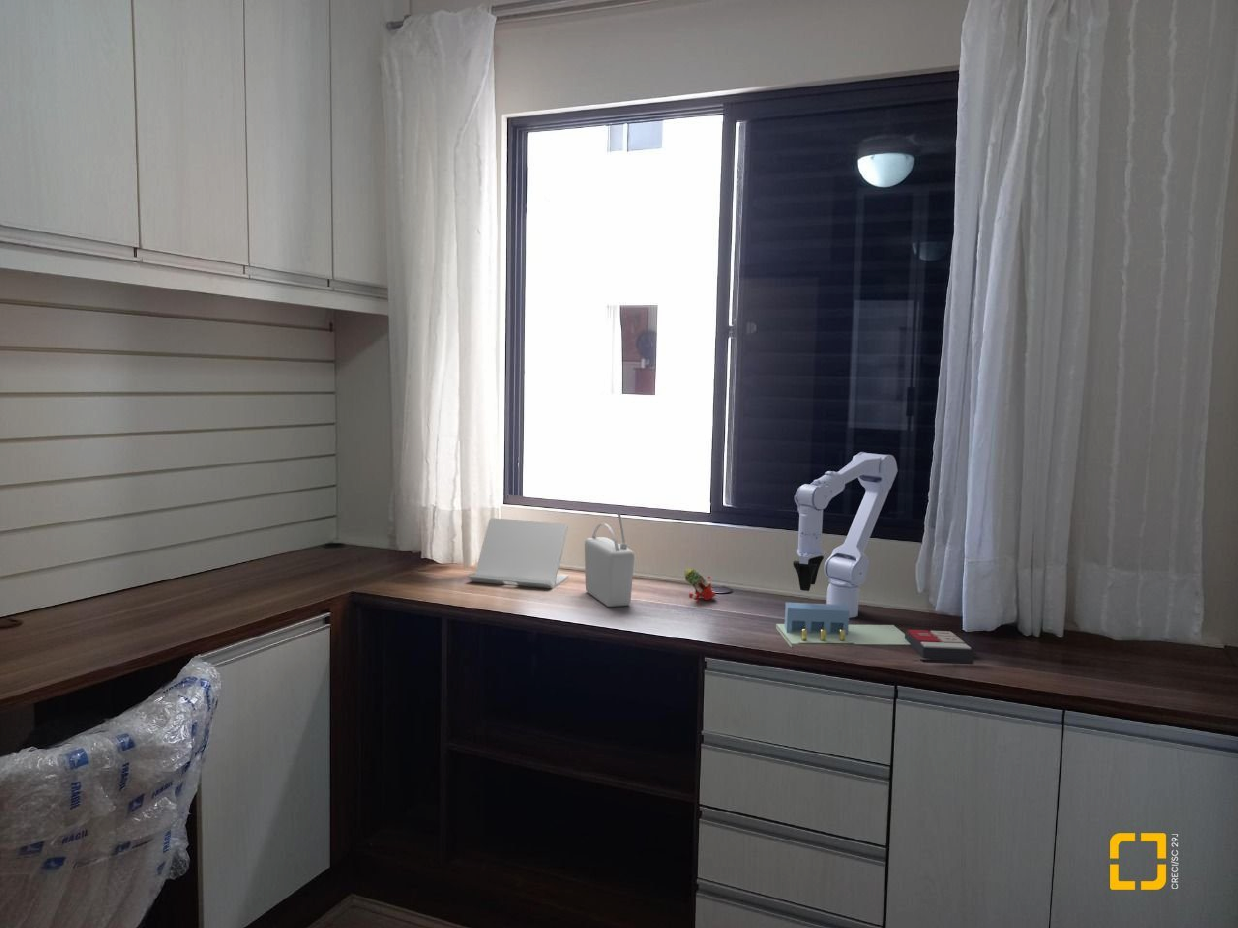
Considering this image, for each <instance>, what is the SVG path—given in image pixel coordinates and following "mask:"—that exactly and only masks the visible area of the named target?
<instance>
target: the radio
mask: <svg viewBox="0 0 1238 928" xmlns="http://www.w3.org/2000/svg"><path fill="white" fill-rule="evenodd" d="M616 514H617V517H618V518H617V519H618V523H619V529H620V535H621V540H622V541H621V542H620V543H618V539H617V536H616V533H615V532H614V530H613V528H612V526H610V525H609V524H608V523H603V522H602V523H599V524H597V525H596V527H595V529H593V533H592V537H588V538H586V539H585V541H584V564H585V565H584V567H585V568H584V570H585V571H584V572H585V574H584V575H585V590H586V592H587V593H588V594H589V595H591V596H592V597H593V598H595V599H596V600H598V601H599V602H600V603H602V604H603V605H605V606H606V607H608V608H615V607H616V608H617V607H618V608H619V607H628V606H630V604H631V602H632V601H631V599H632V591H633V590H632V589H633V575H634V565H635V553H634V551H633V550H632V549H630V548H628V543H627V542H626V541H625V535H624V529H623V523H622V518H621V517H622V516H621V511H620V510H618V511H616ZM602 525H605V527H606V528H607V529H608V531H609V532H610V535H611V537H612V539H613V540H612V539H611V538H608V537H607V536H606V537H605V536H599V537H596V535H597V533H598V531H599V528H600V527H602Z"/></svg>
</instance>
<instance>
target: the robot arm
mask: <svg viewBox="0 0 1238 928" xmlns="http://www.w3.org/2000/svg"><path fill="white" fill-rule="evenodd" d="M898 471H899V470H898V464H897V461H896V458H895V457H894V455H892V454H881V453H880V454H878V453H870V452H868V453H867V452H864V451H860V452H859V453H857V454H856V455H854V456H853V458H852V460H851V461H850V462H849V463H847V465H845V466H844V467H842V468H841V469H839V471H834V470H833V471H831V470H828V471H826V472H824V475H822V476H821V477H819V478H817V479H814V480H813V482H811V483H810V484H807V483H804V484H802V485H801V486H799V487H798V488H797V491H796V493H795V495H794V502H795V503H796V506H797V509H796V510H797V513H798V514H799V515H798V516H799V517H798V535H797V536H798V537H797V549H796V553H797V556H798V557H799V559H798V560H794V561H793V562H792V563H793V567H794V569H795V572H796V575H797V579H798V586H799V590H800V591H805V592H809V591H810V590H811V585H814V586H815V585H816V581H817V578H818V574H819V570H820V568H821V564H822V563H823V560H824V559H825V556H826V555H827V551H824V550H822V544H823V543H822V542H823V541H822V540H823V524H824V523H823V522H824V521H823V520H824V509H826V508H827V506H828V504H829V503H830V501H831V500H832V499H833V498H834V497H835V496H837V495H838V494H840V493H841V492H844V490H845V488H846V484H848V483H850V482H852V481H853V480H856V479H857V480H858V481H859V483H860V485H861V486H862V487H863V488H864V490H865V493H864V495H863V496H862V497H863V498H862V499H861V502H860V504H859V507H858V509H857V511H856V514H855V517H854V519H853V522H852V524H851V526H850V527H849V531H848V534H847V536H846V537H845V540H844V543H843V544H841V545H839V546H837V547H836V548H834V549H833V550H832V552H831V554H830V556H829V557H828V558H827V559H826V561H825V563H824V568H823V571H824V575H825V576H826V578H828V579H827V580H828V581H827V582H829V584H827V585H828V586H827V589H826V600H825V601H826V602H825V604H830V605H846V606H847V608H848V609H849V619H850V618H856V617H858V616H859V615H858V614H859V613H858V609H859V595H860V586H862V585H863V583H864V582H865V581H866V578H867V575H868V570H869V569H868V568H869V565H870V563H871V562H870V559H869V558H868V556H867V555H866V553H865V549H866V548H867V545H868V543H869V540H870V537H871V536H872V533H873V530H874V528H875V525H876V523H877V521H878V518H879V516H880V513H881V511H882V509H883V506H884V504H885V502H886V499H887V496H888V494H889V492H890V490H891V488H892V486H893V483H894V481H895V478H896V476H897V473H898Z"/></svg>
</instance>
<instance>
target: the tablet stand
mask: <svg viewBox="0 0 1238 928" xmlns="http://www.w3.org/2000/svg"><path fill="white" fill-rule="evenodd" d="M567 531H568V524H567V523H561V522H548V521H534V520H533V521H532V520H518V519H507V518H490V519H488V522H487V526H486V530H485V534H484V538H483V542H482V545H481V548H480V549H481V550H480V552H479V553H480V554H479V557H478V561H477V566H476V568H475V573H469V575H468V579H470V581H472V582H479V583H486V584H487V583H488V584H497V585H498V584H501V585H511V586H518V587H531V588H532V587H533V588H543V589H555V588H556V587H557V586H559V585H561V584H562V583H563V582H564V581H566V580H567V579H569V575H568V574H561V573H560V574H559V570H560V565H561V564H560V563H561V559H562V556H563V551H564V546H565V541H566V536H567Z"/></svg>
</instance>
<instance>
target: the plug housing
mask: <svg viewBox="0 0 1238 928" xmlns="http://www.w3.org/2000/svg"><path fill="white" fill-rule="evenodd" d="M784 609H785V610H784V611H785V612H784V624H785V629H786V632H787V633H792V630H802V629H807V633H808V634H811V631H821V629H825V630H826V634H828V635H830V632H840V629H844V630H845V635H848V628H849V625H850V623H849V622H850V618H849V609H848V608H847V606H846V605H830V604H826V603H804V602H803V603H802V602H785V606H784Z"/></svg>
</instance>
